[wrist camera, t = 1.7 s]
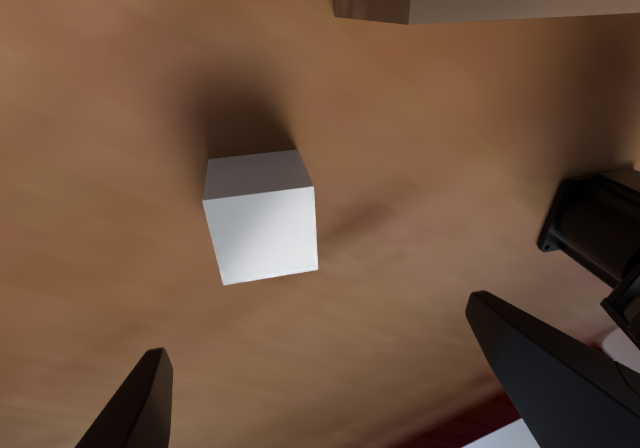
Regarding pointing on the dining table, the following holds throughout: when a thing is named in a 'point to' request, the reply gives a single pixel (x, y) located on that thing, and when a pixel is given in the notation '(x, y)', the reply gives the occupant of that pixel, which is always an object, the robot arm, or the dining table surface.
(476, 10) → the trapdoor frame
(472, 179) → the dining table surface
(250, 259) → the grey cube
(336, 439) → the dining table surface
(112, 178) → the dining table surface
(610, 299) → the robot arm
